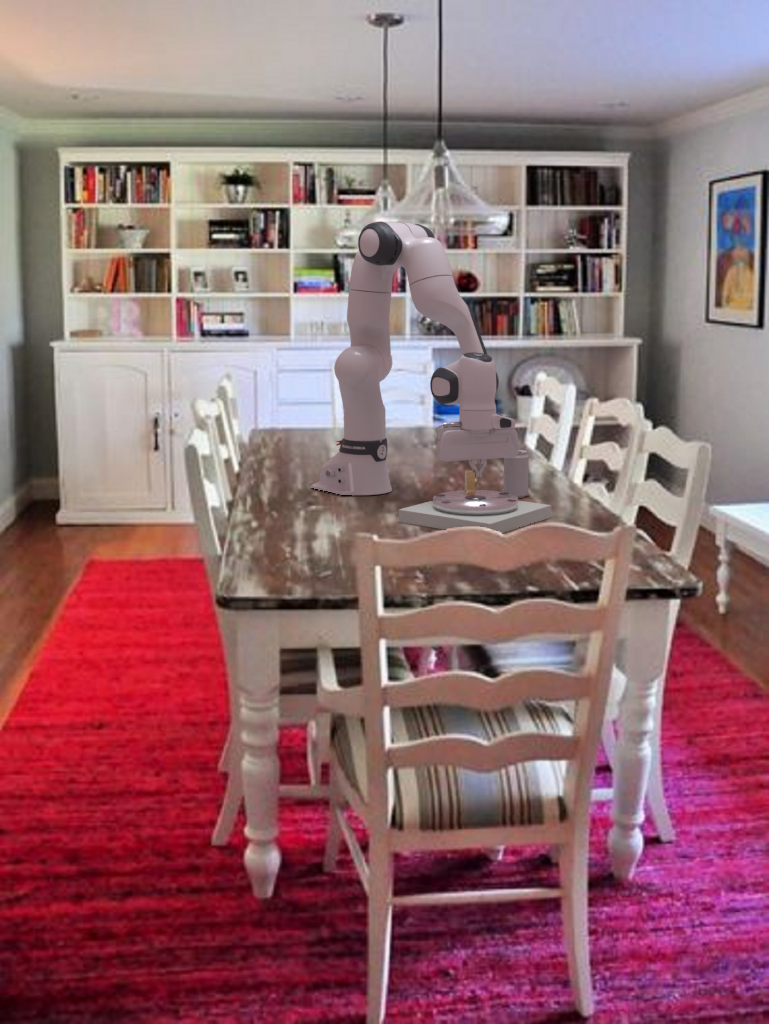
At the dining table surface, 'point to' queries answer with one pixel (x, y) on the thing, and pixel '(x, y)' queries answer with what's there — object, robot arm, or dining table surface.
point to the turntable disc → (475, 500)
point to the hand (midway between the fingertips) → (477, 477)
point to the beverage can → (516, 474)
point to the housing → (475, 517)
